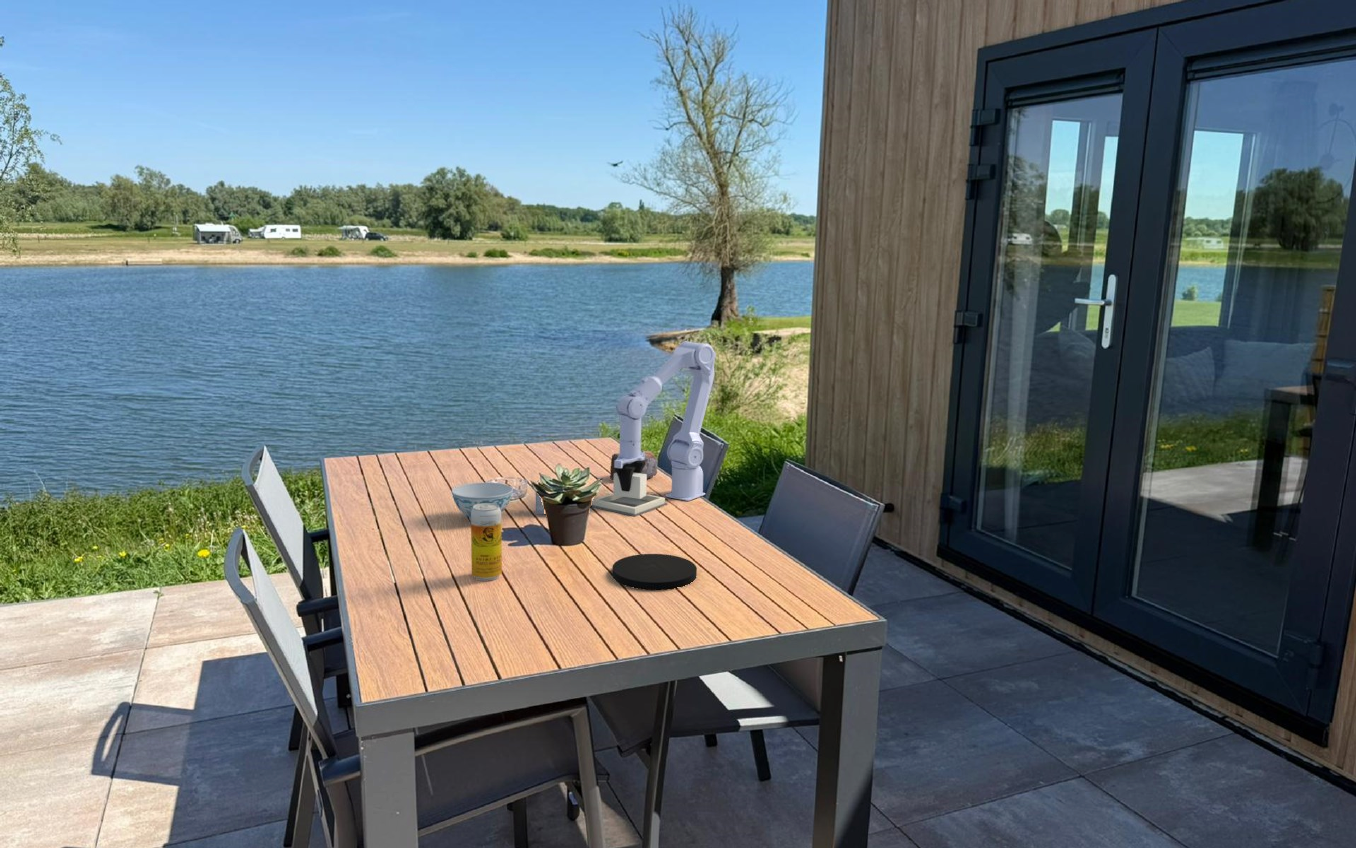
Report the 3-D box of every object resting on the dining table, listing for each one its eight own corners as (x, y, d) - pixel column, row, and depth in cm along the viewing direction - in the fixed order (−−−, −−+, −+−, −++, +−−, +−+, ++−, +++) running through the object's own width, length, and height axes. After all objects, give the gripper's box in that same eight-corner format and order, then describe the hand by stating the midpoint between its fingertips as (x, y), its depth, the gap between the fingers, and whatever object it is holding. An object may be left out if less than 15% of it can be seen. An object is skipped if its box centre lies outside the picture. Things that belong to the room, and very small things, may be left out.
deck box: (620, 491, 237) (620, 470, 236) (646, 495, 234) (646, 474, 233) (613, 495, 234) (613, 473, 233) (639, 499, 231) (640, 477, 230)
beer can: (476, 583, 174) (475, 511, 171) (468, 573, 179) (467, 504, 177) (505, 579, 177) (504, 508, 174) (497, 570, 182) (496, 501, 179)
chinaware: (439, 522, 214) (439, 492, 213) (475, 508, 228) (475, 480, 227) (490, 530, 209) (490, 500, 208) (524, 515, 223) (523, 486, 221)
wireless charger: (679, 597, 170) (679, 587, 170) (598, 584, 177) (598, 574, 176) (707, 569, 187) (707, 560, 187) (632, 558, 193) (632, 549, 193)
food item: (645, 474, 272) (646, 443, 270) (659, 479, 266) (659, 448, 264) (607, 479, 264) (608, 447, 263) (621, 484, 258) (621, 452, 256)
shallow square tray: (623, 495, 245) (623, 489, 245) (667, 504, 237) (667, 497, 237) (590, 506, 233) (590, 500, 232) (635, 516, 224) (635, 509, 224)
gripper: (631, 446, 223) (630, 496, 226) (655, 437, 237) (654, 485, 239) (607, 443, 226) (606, 493, 228) (632, 434, 239) (631, 482, 242)
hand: (629, 489), depth 234 cm, fingers closed on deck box, 4 cm apart
